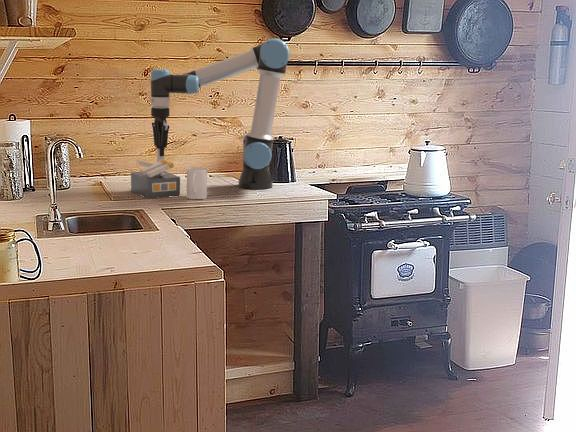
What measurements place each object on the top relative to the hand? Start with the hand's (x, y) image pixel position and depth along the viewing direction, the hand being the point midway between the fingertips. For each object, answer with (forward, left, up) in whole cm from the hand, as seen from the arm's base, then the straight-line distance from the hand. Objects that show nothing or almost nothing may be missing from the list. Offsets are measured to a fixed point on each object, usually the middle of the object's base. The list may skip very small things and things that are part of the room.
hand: (160, 163), depth 321 cm
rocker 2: (+5, +6, -2) cm, 8 cm away
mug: (-6, +21, -12) cm, 25 cm away
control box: (+5, +6, -12) cm, 14 cm away
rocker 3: (+5, +12, -2) cm, 13 cm away
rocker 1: (+5, 0, -2) cm, 5 cm away
